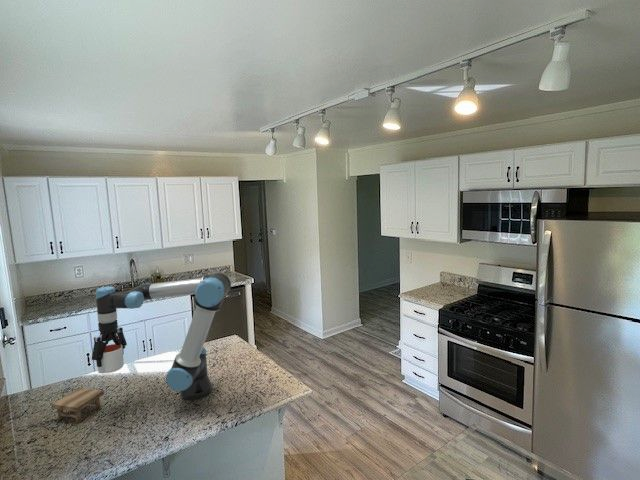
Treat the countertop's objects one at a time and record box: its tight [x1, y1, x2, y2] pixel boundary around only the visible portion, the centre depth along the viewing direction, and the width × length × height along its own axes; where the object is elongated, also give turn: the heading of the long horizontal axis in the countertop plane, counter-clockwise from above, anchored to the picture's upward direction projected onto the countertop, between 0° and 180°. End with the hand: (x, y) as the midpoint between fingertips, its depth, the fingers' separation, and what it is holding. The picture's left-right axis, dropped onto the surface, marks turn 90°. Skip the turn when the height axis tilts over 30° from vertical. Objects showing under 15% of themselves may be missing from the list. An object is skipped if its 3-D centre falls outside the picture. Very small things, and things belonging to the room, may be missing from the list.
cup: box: [99, 343, 125, 374], centre depth 162 cm, size 10×10×10 cm
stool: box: [51, 387, 105, 424], centre depth 161 cm, size 14×14×8 cm
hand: (111, 367), depth 162 cm, fingers closed on cup, 10 cm apart
